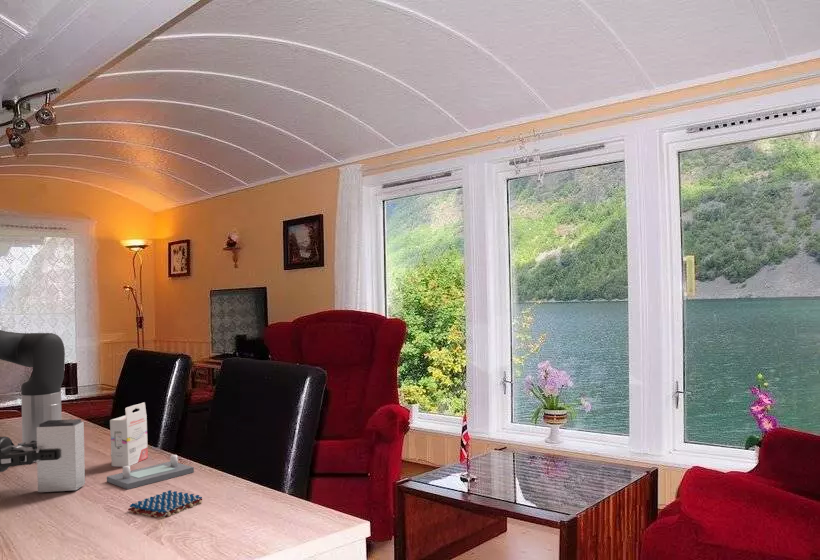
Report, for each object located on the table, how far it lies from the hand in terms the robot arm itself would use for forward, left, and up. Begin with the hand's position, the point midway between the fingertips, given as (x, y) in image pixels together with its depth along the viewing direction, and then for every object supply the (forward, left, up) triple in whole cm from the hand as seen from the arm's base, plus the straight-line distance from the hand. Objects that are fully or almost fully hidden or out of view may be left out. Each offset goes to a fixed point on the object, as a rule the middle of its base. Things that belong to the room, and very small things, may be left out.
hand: (64, 451), depth 142 cm
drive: (0, -1, -8) cm, 8 cm away
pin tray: (-7, +16, -8) cm, 20 cm away
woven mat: (+16, +26, -9) cm, 32 cm away
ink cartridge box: (-22, +6, -9) cm, 24 cm away
